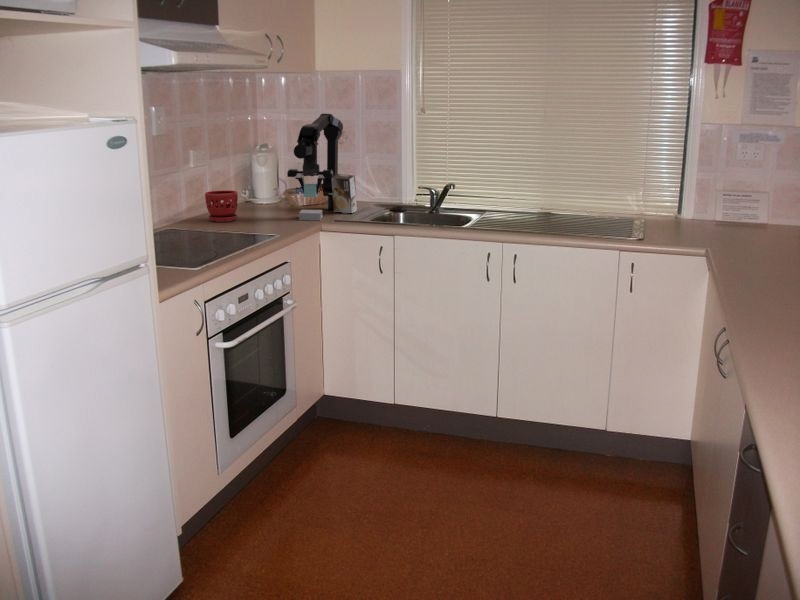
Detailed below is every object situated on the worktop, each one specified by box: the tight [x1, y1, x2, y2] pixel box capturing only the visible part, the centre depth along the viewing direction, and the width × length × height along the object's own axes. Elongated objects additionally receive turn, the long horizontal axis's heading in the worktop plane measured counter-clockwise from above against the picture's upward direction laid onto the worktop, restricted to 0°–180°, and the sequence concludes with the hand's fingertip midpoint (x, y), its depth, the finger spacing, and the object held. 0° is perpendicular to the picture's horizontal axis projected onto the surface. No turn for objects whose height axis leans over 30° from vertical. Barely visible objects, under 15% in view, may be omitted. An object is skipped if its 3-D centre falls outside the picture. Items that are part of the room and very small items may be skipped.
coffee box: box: [331, 173, 358, 214], centre depth 355 cm, size 9×6×16 cm
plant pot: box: [204, 189, 239, 223], centre depth 332 cm, size 13×13×12 cm
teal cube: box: [303, 183, 318, 198], centre depth 339 cm, size 5×5×5 cm
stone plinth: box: [298, 209, 323, 221], centre depth 341 cm, size 9×9×3 cm
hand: (310, 193), depth 339 cm, fingers closed on teal cube, 5 cm apart
